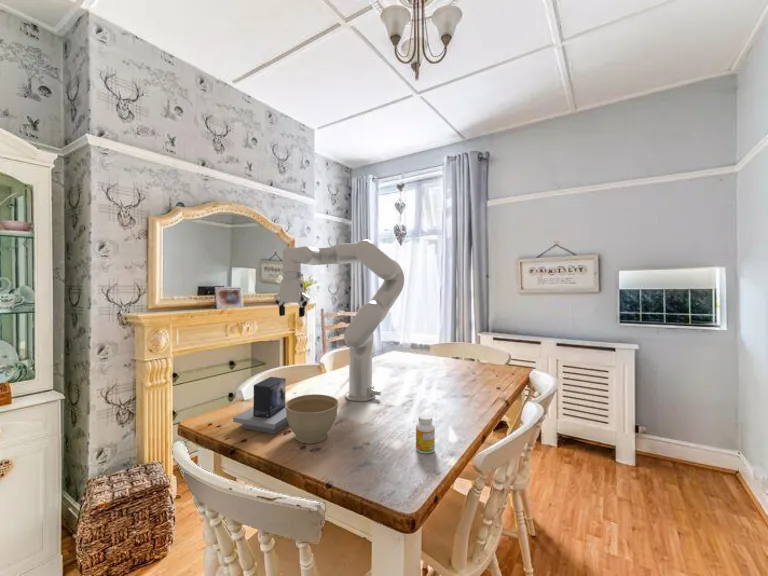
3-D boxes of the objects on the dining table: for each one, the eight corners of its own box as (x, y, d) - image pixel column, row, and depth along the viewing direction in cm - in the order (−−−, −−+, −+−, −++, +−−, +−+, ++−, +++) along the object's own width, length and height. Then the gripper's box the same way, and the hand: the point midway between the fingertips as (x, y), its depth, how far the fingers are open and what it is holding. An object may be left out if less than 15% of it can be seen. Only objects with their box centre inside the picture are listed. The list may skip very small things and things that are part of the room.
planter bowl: (313, 455, 96) (313, 417, 96) (274, 440, 105) (273, 405, 105) (348, 433, 110) (348, 399, 110) (311, 422, 119) (311, 390, 118)
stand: (302, 417, 123) (302, 406, 122) (274, 437, 107) (274, 424, 107) (265, 411, 128) (265, 401, 128) (233, 429, 113) (233, 417, 112)
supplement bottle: (414, 445, 103) (414, 413, 102) (432, 444, 103) (432, 412, 103) (417, 454, 97) (417, 420, 97) (436, 453, 98) (436, 420, 97)
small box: (270, 418, 112) (270, 386, 111) (252, 416, 113) (252, 385, 113) (286, 406, 122) (286, 377, 122) (270, 405, 123) (270, 376, 123)
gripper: (314, 276, 149) (314, 316, 149) (279, 276, 154) (279, 314, 154) (304, 276, 141) (304, 317, 142) (269, 276, 147) (269, 316, 147)
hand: (291, 316), depth 148 cm, fingers open, 9 cm apart
